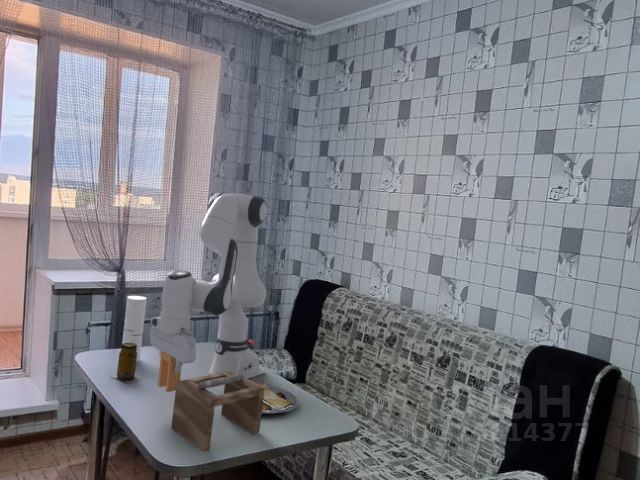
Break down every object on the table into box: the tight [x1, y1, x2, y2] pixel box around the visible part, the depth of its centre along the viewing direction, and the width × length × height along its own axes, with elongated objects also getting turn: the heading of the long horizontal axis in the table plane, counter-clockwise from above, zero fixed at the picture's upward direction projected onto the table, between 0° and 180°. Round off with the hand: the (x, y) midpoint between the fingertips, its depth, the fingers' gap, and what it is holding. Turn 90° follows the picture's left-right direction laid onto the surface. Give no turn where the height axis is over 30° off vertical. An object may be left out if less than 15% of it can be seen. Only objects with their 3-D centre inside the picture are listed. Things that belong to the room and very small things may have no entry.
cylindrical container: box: [121, 295, 147, 363], centre depth 197 cm, size 7×7×25 cm
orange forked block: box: [157, 351, 182, 393], centre depth 153 cm, size 4×6×11 cm
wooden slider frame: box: [170, 371, 265, 452], centre depth 147 cm, size 20×16×16 cm
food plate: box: [258, 381, 299, 414], centre depth 173 cm, size 25×23×4 cm
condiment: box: [110, 343, 143, 384], centre depth 179 cm, size 7×8×12 cm
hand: (170, 368), depth 153 cm, fingers closed on orange forked block, 5 cm apart
